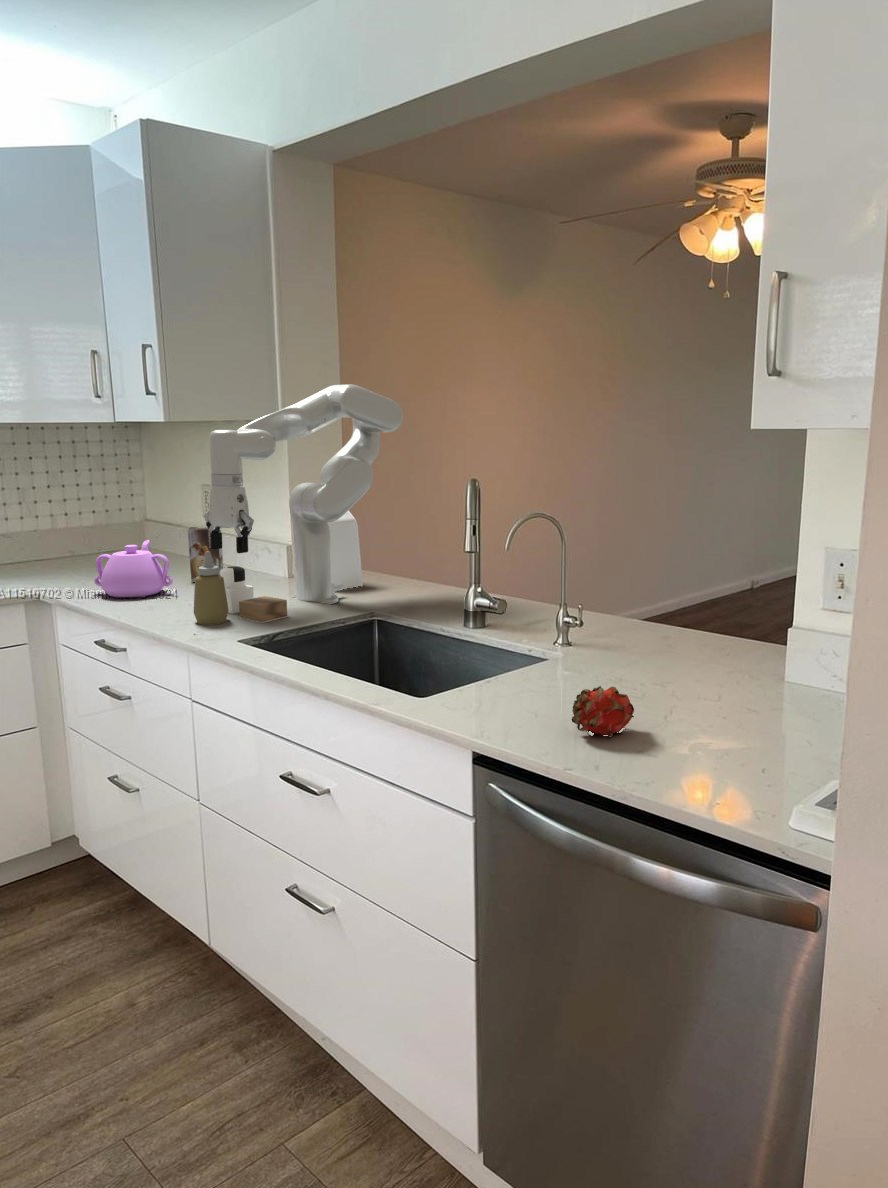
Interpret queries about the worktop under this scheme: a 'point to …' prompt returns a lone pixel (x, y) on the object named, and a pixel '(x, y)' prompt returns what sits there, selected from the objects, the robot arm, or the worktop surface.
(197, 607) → the squeeze bottle
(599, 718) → the dragon fruit
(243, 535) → the robot arm
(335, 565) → the milk
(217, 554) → the coffee box
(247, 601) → the base block
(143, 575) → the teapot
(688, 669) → the worktop surface
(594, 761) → the worktop surface
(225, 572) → the medicine bottle
